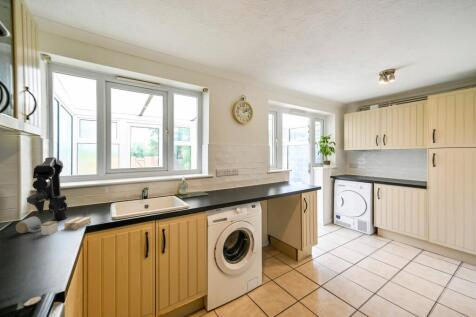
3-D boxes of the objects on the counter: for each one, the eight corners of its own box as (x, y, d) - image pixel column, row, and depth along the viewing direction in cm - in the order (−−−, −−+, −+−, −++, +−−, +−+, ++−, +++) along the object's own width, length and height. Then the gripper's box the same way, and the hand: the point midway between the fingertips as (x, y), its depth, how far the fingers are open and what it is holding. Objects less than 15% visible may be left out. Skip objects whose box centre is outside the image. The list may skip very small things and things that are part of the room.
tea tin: (41, 234, 111) (40, 224, 111) (50, 230, 116) (49, 221, 115) (49, 234, 111) (48, 224, 110) (57, 231, 115) (57, 221, 115)
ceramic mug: (14, 234, 112) (13, 221, 112) (30, 228, 120) (29, 216, 120) (32, 234, 112) (31, 221, 112) (46, 228, 120) (45, 216, 120)
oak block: (64, 229, 118) (64, 222, 118) (77, 223, 127) (77, 217, 127) (78, 229, 118) (78, 222, 117) (90, 223, 127) (90, 217, 126)
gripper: (13, 190, 104) (17, 218, 105) (45, 190, 103) (48, 219, 104) (37, 185, 115) (39, 211, 116) (65, 185, 114) (68, 211, 115)
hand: (48, 213), depth 113 cm, fingers open, 9 cm apart
